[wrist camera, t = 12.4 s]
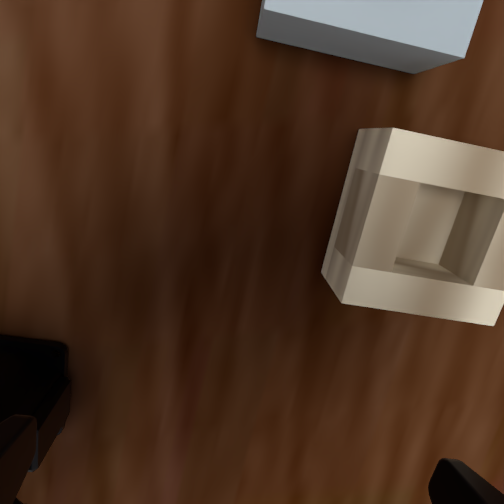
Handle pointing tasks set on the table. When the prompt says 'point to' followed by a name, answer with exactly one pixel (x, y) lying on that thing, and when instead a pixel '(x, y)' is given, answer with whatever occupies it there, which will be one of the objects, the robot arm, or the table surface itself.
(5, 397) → the robot arm
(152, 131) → the table surface
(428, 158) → the birch block
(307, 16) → the slate block
